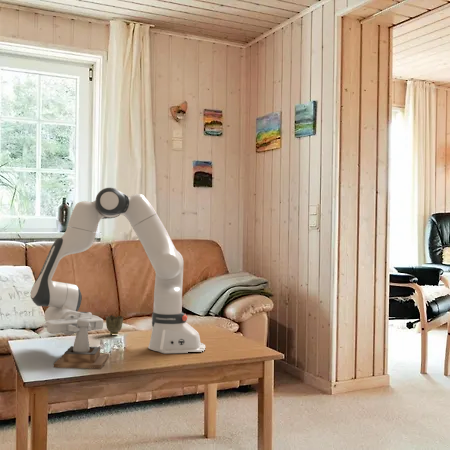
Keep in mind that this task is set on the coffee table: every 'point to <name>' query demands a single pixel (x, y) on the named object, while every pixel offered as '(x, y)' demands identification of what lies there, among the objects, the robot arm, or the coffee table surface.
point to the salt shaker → (82, 337)
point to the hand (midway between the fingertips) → (83, 329)
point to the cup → (114, 324)
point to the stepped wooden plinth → (82, 359)
